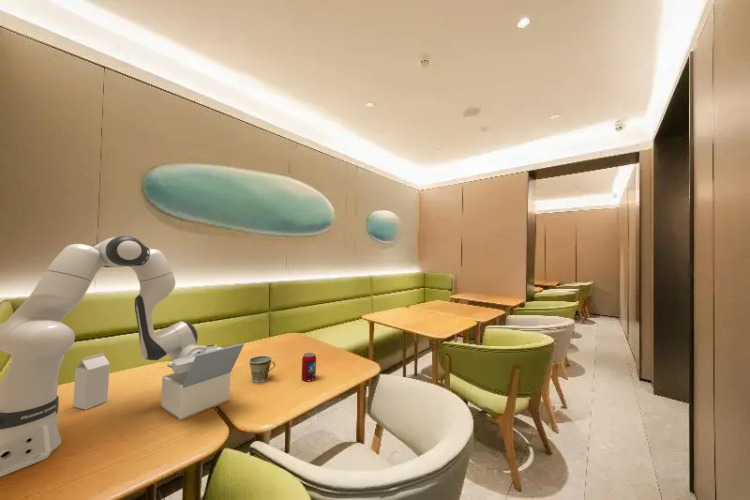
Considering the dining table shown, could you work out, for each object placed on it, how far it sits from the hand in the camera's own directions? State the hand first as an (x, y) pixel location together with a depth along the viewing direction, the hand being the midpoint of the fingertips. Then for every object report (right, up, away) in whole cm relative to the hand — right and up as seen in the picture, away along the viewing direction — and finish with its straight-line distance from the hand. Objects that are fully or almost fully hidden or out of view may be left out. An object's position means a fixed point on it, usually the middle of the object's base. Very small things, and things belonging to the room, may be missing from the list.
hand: (212, 364), depth 108 cm
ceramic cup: (+7, -20, +29) cm, 36 cm away
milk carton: (-50, -17, +3) cm, 53 cm away
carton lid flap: (+1, +1, -1) cm, 1 cm away
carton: (-10, -18, +5) cm, 21 cm away
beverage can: (+29, -20, +32) cm, 47 cm away
